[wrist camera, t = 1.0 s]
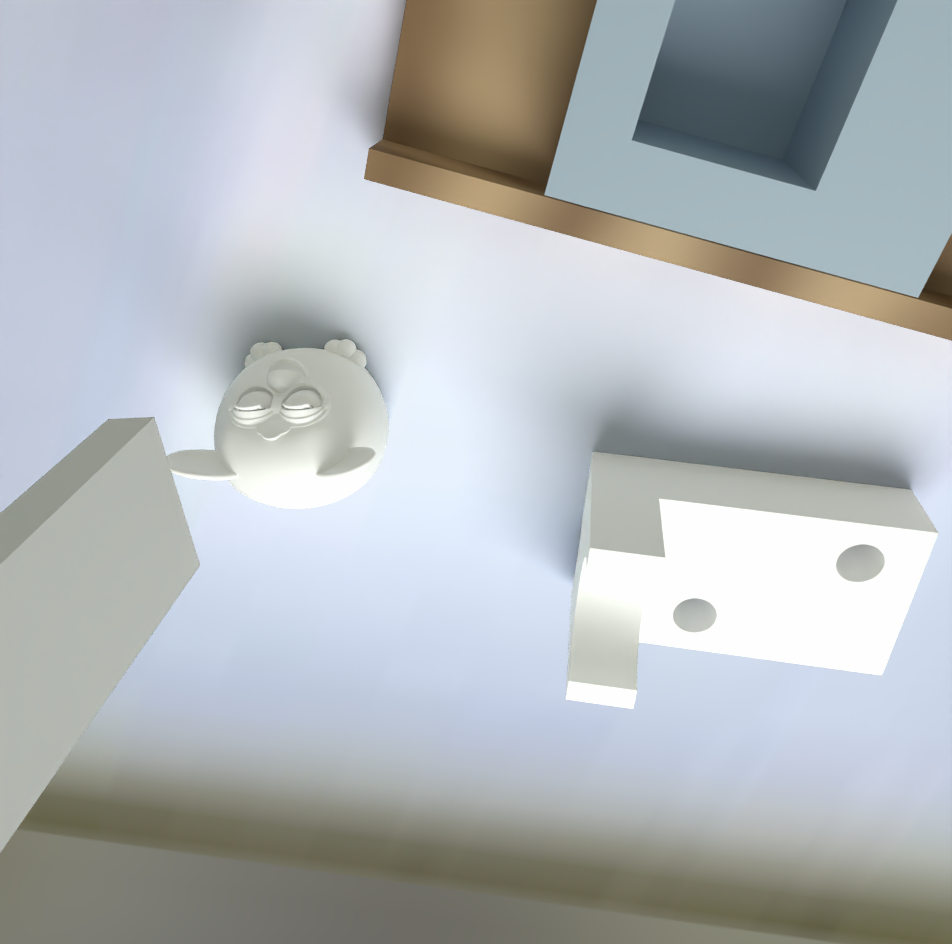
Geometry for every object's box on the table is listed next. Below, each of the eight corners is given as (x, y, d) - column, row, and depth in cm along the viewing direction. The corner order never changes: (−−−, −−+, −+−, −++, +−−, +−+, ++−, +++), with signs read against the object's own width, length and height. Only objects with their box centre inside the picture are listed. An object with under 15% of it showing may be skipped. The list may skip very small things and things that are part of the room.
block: (555, 159, 30) (544, 195, 24) (642, -163, 25) (652, -204, 20) (863, 244, 30) (918, 297, 24) (1007, -62, 25) (1112, -77, 20)
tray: (383, 163, 31) (288, 238, 22) (462, -291, 25) (375, -466, 15) (1068, 351, 32) (1268, 507, 22) (1324, -53, 25) (1766, -80, 16)
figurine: (400, 331, 35) (360, 398, 29) (418, 470, 38) (385, 556, 32) (213, 337, 36) (139, 403, 30) (245, 472, 39) (183, 554, 33)
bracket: (572, 583, 40) (565, 699, 33) (592, 448, 36) (590, 547, 30) (859, 621, 39) (911, 748, 32) (909, 486, 35) (978, 598, 29)
